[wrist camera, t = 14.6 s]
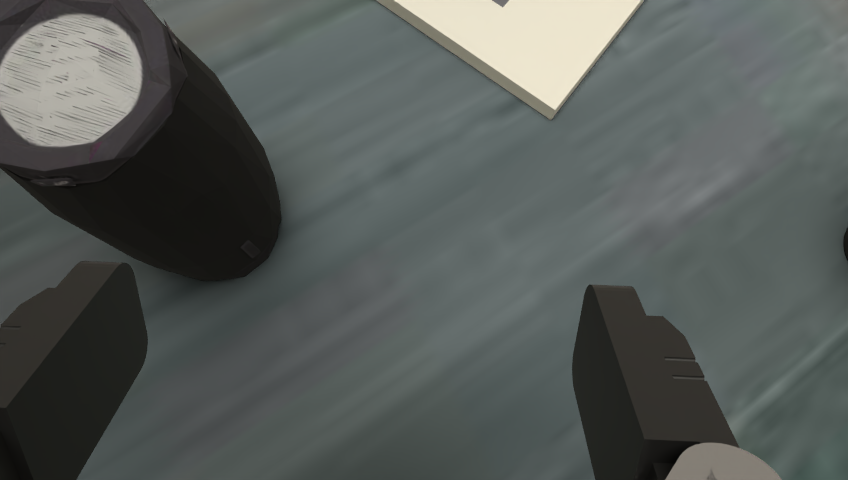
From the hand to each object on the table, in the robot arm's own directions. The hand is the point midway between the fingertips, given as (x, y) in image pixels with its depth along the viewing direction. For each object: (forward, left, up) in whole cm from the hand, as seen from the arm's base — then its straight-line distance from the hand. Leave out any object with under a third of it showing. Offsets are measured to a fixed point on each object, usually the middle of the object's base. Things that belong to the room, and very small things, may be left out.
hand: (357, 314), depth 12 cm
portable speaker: (-15, +1, -29) cm, 33 cm away
